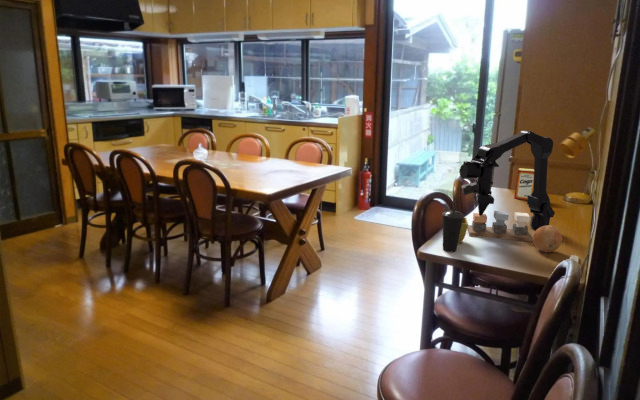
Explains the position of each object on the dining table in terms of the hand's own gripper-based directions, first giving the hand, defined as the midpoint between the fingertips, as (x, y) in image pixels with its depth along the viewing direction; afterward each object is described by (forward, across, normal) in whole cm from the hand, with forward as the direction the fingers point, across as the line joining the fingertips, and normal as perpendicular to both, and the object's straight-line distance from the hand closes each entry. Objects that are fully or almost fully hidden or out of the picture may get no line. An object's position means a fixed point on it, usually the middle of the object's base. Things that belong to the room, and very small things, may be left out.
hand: (480, 215), depth 194 cm
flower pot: (+8, +14, -11) cm, 19 cm away
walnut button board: (+8, 0, +8) cm, 11 cm away
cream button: (+4, 0, +16) cm, 16 cm away
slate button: (+4, 0, +8) cm, 9 cm away
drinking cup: (+8, +24, -13) cm, 28 cm away
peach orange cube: (+5, 0, 0) cm, 5 cm away
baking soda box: (+8, -70, +32) cm, 77 cm away
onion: (+8, +15, +22) cm, 28 cm away
